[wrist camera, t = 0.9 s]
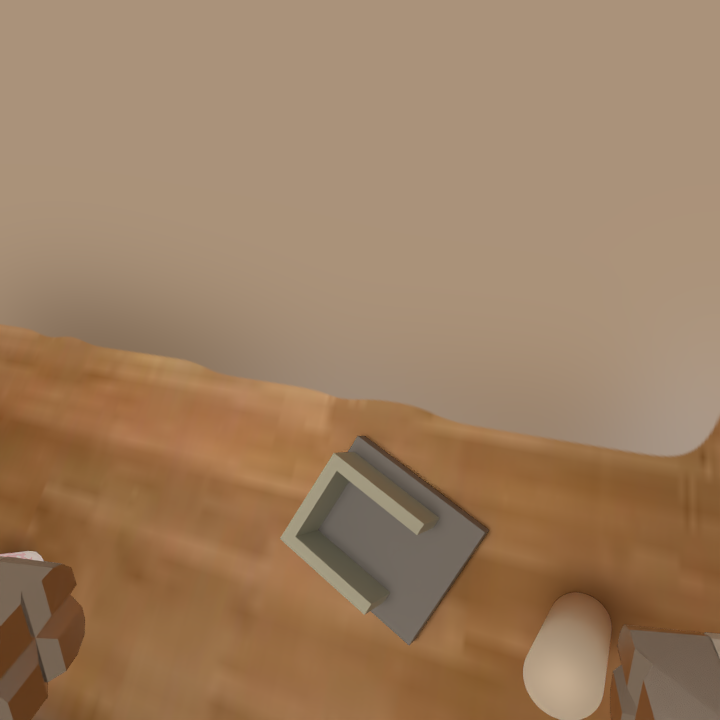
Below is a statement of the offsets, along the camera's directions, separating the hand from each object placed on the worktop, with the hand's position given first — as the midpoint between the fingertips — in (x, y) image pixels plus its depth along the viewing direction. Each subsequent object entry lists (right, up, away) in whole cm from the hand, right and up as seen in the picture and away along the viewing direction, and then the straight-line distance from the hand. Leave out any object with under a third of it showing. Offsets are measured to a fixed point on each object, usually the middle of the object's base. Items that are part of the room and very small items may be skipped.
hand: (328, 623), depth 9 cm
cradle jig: (+3, -11, +44) cm, 46 cm away
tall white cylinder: (+17, -16, +38) cm, 44 cm away
